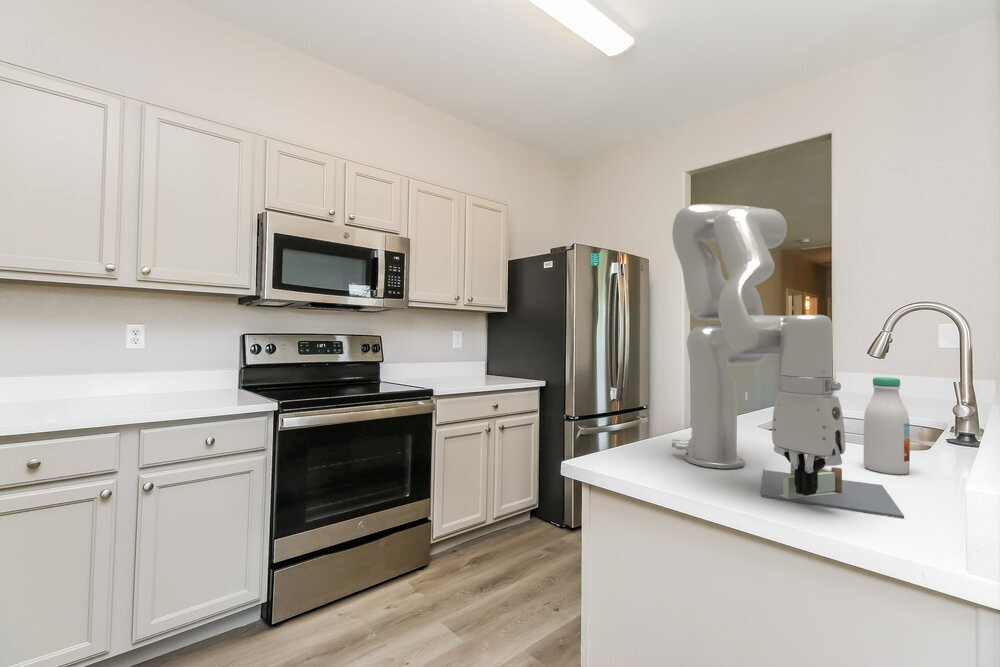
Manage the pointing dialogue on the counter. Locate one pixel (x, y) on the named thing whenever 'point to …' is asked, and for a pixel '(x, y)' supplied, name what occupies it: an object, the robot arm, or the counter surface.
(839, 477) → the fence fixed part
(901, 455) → the milk bottle
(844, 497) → the board
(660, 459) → the counter surface
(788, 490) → the fence hinged panel
